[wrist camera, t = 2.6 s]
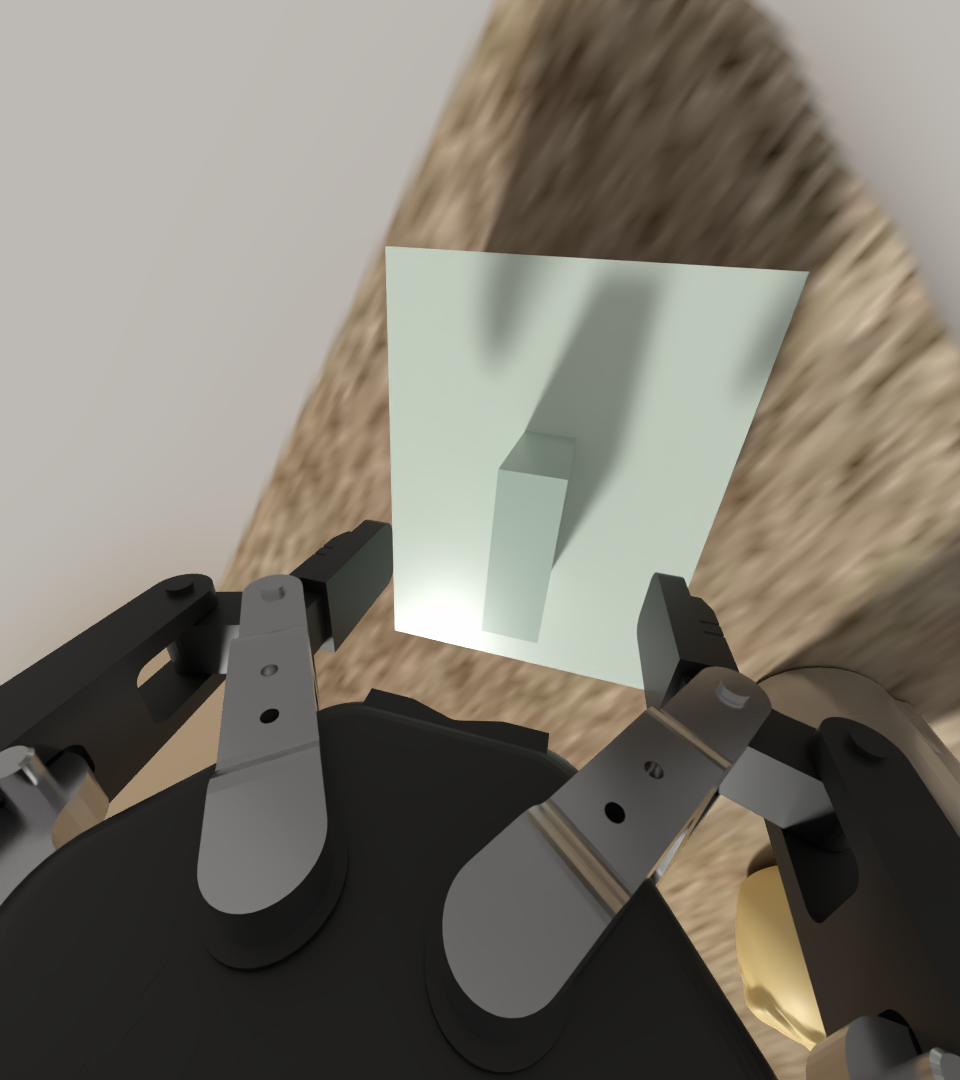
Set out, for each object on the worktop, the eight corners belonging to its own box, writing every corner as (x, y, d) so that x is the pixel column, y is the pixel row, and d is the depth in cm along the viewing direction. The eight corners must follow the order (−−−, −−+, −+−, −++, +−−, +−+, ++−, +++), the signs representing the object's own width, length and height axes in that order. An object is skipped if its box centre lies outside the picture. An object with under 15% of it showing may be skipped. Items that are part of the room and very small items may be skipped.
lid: (787, 277, 14) (925, 241, 8) (645, 667, 22) (662, 788, 16) (403, 253, 16) (296, 212, 10) (406, 612, 24) (347, 701, 18)
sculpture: (708, 898, 41) (740, 1063, 32) (746, 830, 36) (799, 1007, 27) (840, 935, 39) (916, 1126, 30) (903, 869, 33) (1021, 1078, 24)
